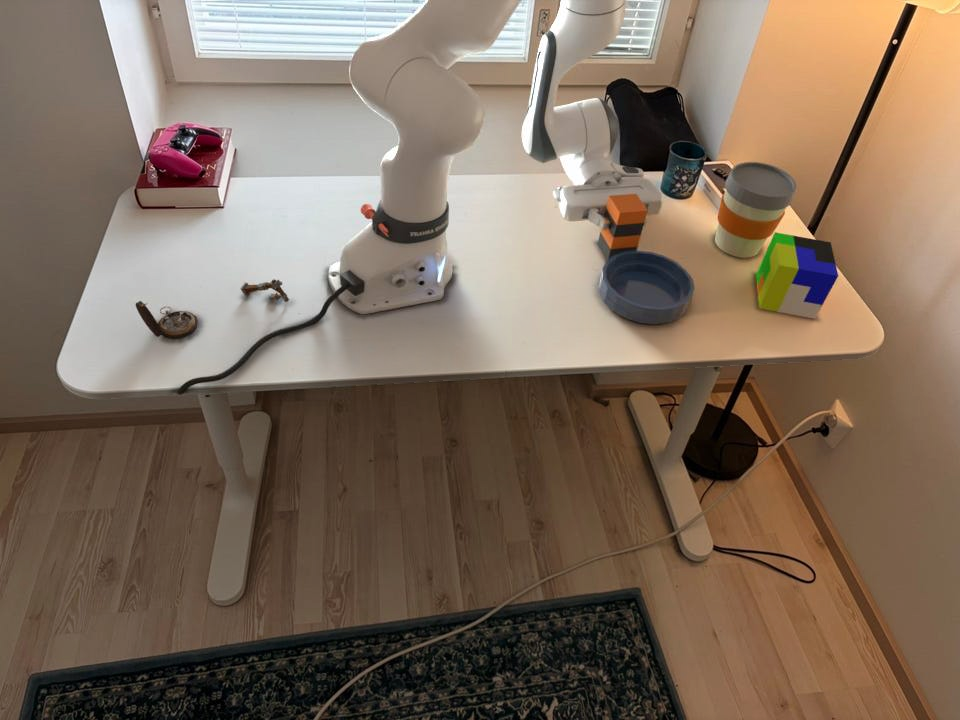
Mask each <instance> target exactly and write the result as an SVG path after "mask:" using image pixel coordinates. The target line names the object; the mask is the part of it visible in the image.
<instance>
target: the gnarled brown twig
mask: <svg viewBox="0 0 960 720" xmlns="http://www.w3.org/2000/svg"><path fill="white" fill-rule="evenodd" d="M281 286H283V282H282V281H281V280H279V279H271V281H269V282H267V281H265V282H261V283H260V282H259V284H249V283H248V282H244V283H243V285H242V286H241V287H240V289H239V290H240V291H241V292H242V294H243V296H244V297H245V298H246V297H248V296H249V295H250V294H251V293H254V292H258V291H259V292H262V291H268V290H270V289H272V290H273V291H274V292H275V293H271V294H270V295H269V296H268V299H269V300H271V302H274V301H276V302H278V301H279V300H280V299H282V300H283V301H284V302H285V303H287V302H289V301H290V298H289V296H288V294H287V293H286V292H285V291H284V290H283V288H282V287H281Z"/></svg>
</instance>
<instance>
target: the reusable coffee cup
mask: <svg viewBox="0 0 960 720" xmlns="http://www.w3.org/2000/svg"><path fill="white" fill-rule="evenodd" d="M724 187H725V190H724V192H723V194H722V195H721V199H720V204H719V208H718V213H717V222H718V224H717V227H716V233H715V236H714V242H715V245H716V246H717V248H719V250H721V251H722V252H724V253H726V254H728V255H729V256H732V257H735V258H743V259H744V258H745V259H748V258H753V257H755V256H756V255H758V254H759V253H760V251H761V249H762V247H763V246H764V244H765V243H766V241H767V240H768V238H770V237H771V236H773V235H774V233H775V232H776V229H777V227H778V226H779V225H780V223H781V221H782V219H783V218H784V216H785V212H786V209H787V208H788V207H789V206H790V205H791V204H792V202H793V199H794V196H795V193H796V189H797V183H796V181H795V179H794V178H793V176H792V175H790V174H789V173H788V172H787V171H785V170H783V169H781V168H779V167H778V166H774V165H772V164H768V163H764V162H759V161H745V162H740V163H738V164H736V165H734V166H733V168H732V169H731V170H730V171H729V174H728V176H727V178H726V180H725V183H724Z"/></svg>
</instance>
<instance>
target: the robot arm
mask: <svg viewBox="0 0 960 720" xmlns="http://www.w3.org/2000/svg"><path fill="white" fill-rule="evenodd" d="M521 1H522V0H425V2H423V3H422V5H421V6H420V7H419V8H418V9H417V10H416V11H415V12H414V13H413V14H411V16H409V17H408V18H407V19H406V20H405V21H403V22H402V23H401V24H399V25H398V26H397V27H395V28H393V29H392V30H390V31H389V32H387V33H385V34H381V35H379V36H375V37H374V36H373V37H371V38H368V39H366V40H365V41H364V42H362V43H361V44H360V45H359V46H358V47H357V48H356V50H355V51H354V53H353V55H352V57H351V59H350V63H349V69H348V75H349V82H350V84H351V86H352V88H353V89H354V91H355V93H356V94H357V95H358V96H359V98H360V99H361V100H362V102H363V103H364V104H365V105H366V106H367V107H368V109H370V110H372V111H373V112H374V113H376V114H377V115H378V116H380V117H382V118H383V119H384V120H386V121H387V122H388V123H390V124H391V125H392V126H393V127H394V128H395V131H396V133H397V137H398V142H397V146H395V147H393V148H392V149H391V150H389V151H387V153H386V154H385V155H384V156H383V158H382V160H381V162H380V167H379V173H380V200H379V202H378V204H377V207H376V209H374V208H373V207H372V205H371V204H370V203H364V204H363V205H361V207H360V210H359V211H360V213H361V214H362V216H364V218H365V219H366V220H371V221H370V223H368V224H367V225H366V226H365V227H364V228H363V229H361V231H360V232H358V233H357V234H356V235H355V236H353V238H351V239H350V240H349V241H348V242H347V243H345V244H344V246H343V247H342V250H341V254H340V258H339V259H340V260H339V261H337V262H335V263H333V264H331V265H330V266H329V267H328V271H327V279H328V283H329V287H330V288H331V290H332V292H333V293H331V295H329V297H328V298H327V299H326V300H325V302H324V303H323V305H322V308H321V310H320V311H319V313H318V314H316V315H315V316H314V317H312V318H311V319H309V320H306V321H304V322H302V323H299V324H295V325H291V326H287V327H284V328H279V329H277V330H275V331H272V332H269V333H267V334H266V335H264V336H263V337H261V338H260V339H259V340H256V342H255V343H254V344H253V345H252V346H251V347H250V348H248V350H247V351H246V352H245V353H244V354H243V356H242V357H240V359H238V361H237V362H235V364H233V365H232V366H230V367H229V368H228V369H226V370H225V371H222V372H220V373H218V374H213V375H209V376H207V375H206V376H200V377H195V378H192V379H189V380H187V381H185V382H184V383H182V385H181V386H180V387H179V389H178V390H177V395H182V394H184V393H185V392H186V391H187V390H188V389H189V388H190V387H193V386H194V385H198V384H205V383H213V382H217V381H221V380H224V379H226V378H228V377H230V376H231V375H233V374H234V373H236V372H237V371H238V370H239V369H241V367H243V366H244V365H245V364H246V363H247V362H248V361H249V359H250V358H251V357H252V356H253V355H254V353H255V352H256V351H257V350H258V349H260V348H261V347H263V345H264V344H266V343H268V342H269V341H270V340H273V339H274V338H276V337H279V336H281V335H285V334H289V333H292V332H295V331H299V330H302V329H304V328H305V329H306V328H307V327H310V326H313V325H314V324H316V323H317V322H319V321H321V320H322V319H323V318H324V317H325V316H326V314H327V312H328V310H329V307H330V305H332V303H333V302H334V301H335V300H336V299H338V300H339V301H340V302H341V303H342V304H343V305H344V306H345V307H347V308H348V309H349V310H351V311H353V312H355V313H357V314H359V315H367V314H368V315H369V314H374V313H378V312H384V311H388V310H394V309H399V308H405V307H409V306H416V305H419V304H424V303H430V302H434V301H439V300H441V299H443V297H444V293H445V288H446V286H447V284H448V283H449V282H450V280H451V279H452V277H453V272H454V271H453V269H454V268H453V265H452V261H451V258H450V255H449V248H448V247H449V246H448V238H447V236H448V235H447V229H448V227H449V223H450V204H449V201H448V187H449V178H450V177H449V176H450V170H451V166H452V163H453V161H454V158H455V157H456V156H458V155H460V154H463V153H465V152H466V151H468V150H469V149H470V148H471V147H473V145H474V144H475V143H476V142H477V141H478V139H479V138H480V136H481V134H482V131H483V129H484V126H485V122H486V121H485V120H486V108H485V104H484V101H483V100H482V98H481V97H480V96H479V95H478V93H476V92H475V90H474V89H473V87H471V86H470V85H469V84H468V83H467V82H466V81H465V79H463V78H461V77H460V76H458V74H455V73H453V72H452V71H450V70H448V69H450V68H451V67H452V66H453V65H454V64H456V63H457V62H458V61H460V60H461V59H463V58H465V57H467V56H468V57H469V56H471V55H476V54H481V53H483V52H485V51H487V50H489V49H490V48H491V47H492V46H493V45H494V44H495V42H496V41H497V39H498V37H499V36H500V34H501V32H502V31H503V30H504V28H505V26H506V25H507V24H508V22H509V20H510V19H511V17H512V15H513V14H514V13H515V11H516V10H517V8H518V6H519V5H520V3H521ZM626 6H627V0H560V5H559V9H558V11H557V15H556V17H555V20H554V22H553V24H552V25H551V26H550V28H549V29H548V31H546V32H545V33H544V34H543V35H542V37H541V39H540V42H539V45H538V50H537V54H536V59H535V64H534V68H533V69H534V70H533V76H532V80H531V86H530V92H529V93H530V94H529V99H528V104H527V109H526V113H525V115H524V118H523V121H522V127H521V141H522V145H523V149H524V151H525V154H526V155H527V156H529V157H530V158H531V159H533V160H535V161H536V162H538V163H541V164H546V163H549V162H551V161H554V160H555V161H556V160H558V159H559V160H560V162H561V166H562V167H563V170H564V172H565V174H566V176H567V178H568V179H569V180H570V181H571V182H572V184H573V185H565V186H558V187H557V188H556V189H554V190H553V191H552V195H553V198H554V199H555V200H556V201H557V202H558V206H559V207H558V208H559V211H560V214H561V216H562V218H563V219H564V221H567V222H583V221H589V222H590V223H591V224H593V225H596V226H598V227H599V229H600V231H601V230H608V229H610V227H609V226H610V225H611V223H610V221H609V219H608V217H604V214H605V210H606V206H607V202H608V197H609V196H614V195H626V194H637V195H638V197H639V198H640V200H641V201H642V203H643V204H644V206H645V207H646V208H647V210H648V212H647V216H654V215H658V214H659V213H660V212H661V209H662V207H663V204H664V203H663V202H664V196H663V194H662V192H661V191H660V190H659V188H658V187H657V186H656V185H655V184H654V182H653V181H651V180H650V179H649V178H646V177H644V175H645V172H644V170H643V169H642V168H639V167H633V166H632V167H631V166H626V165H621V164H617V163H615V162H612V161H611V160H609V155H611V153H612V152H613V149H614V147H615V145H616V142H617V140H618V122H617V118H616V115H615V113H614V111H613V109H612V108H611V107H610V105H609V104H608V103H607V102H606V101H605V100H603V99H601V98H600V97H594V98H587V99H583V100H579V101H575V102H572V103H569V104H568V103H567V104H562V105H558V106H555V104H556V99H557V93H558V89H559V84H560V83H561V80H562V78H563V77H564V76H565V75H566V74H567V73H568V72H569V71H570V70H572V69H573V68H574V67H576V66H577V65H579V64H581V63H582V62H584V61H585V60H587V59H589V58H591V57H593V56H594V55H597V54H598V53H600V52H602V51H603V50H605V49H606V48H607V47H608V46H609V45H611V44H612V43H613V42H614V41H615V39H616V38H617V37H618V35H619V34H620V32H621V29H622V26H623V24H624V19H625V14H626V8H627V7H626ZM647 222H648V218H647V217H646V219H645V223H644V226H643V228H645V227H646V226H647Z"/></svg>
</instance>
